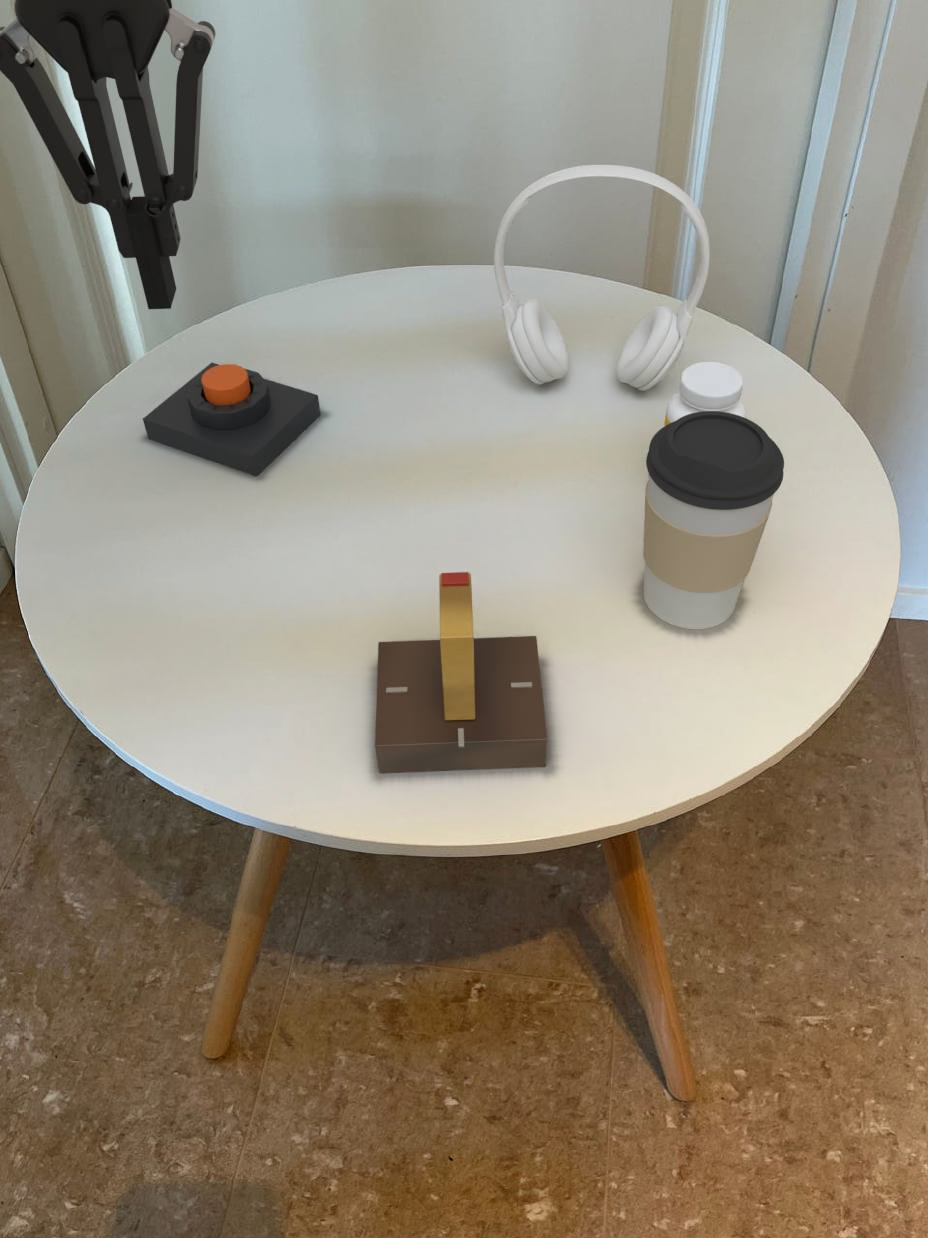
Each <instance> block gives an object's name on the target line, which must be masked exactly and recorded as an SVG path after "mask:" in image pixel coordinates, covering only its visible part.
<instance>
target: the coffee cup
mask: <svg viewBox="0 0 928 1238" xmlns="http://www.w3.org/2000/svg"><path fill="white" fill-rule="evenodd" d="M645 458H646V460H645V465H646V470H647V473H648V479H647V482H646V485H645V492H644V493H645V499H644V517H643V518H644V519H643V520H644V523H643V547H642V548H643V549H642V553H643V554H642V556H643V559H644V571H643V572H644V573H643V600H644V602H645V604H646V606H647V607H648V609H649V610H650V612H651V613H652V614H653V615H655V617H657V618H658V619H660V620H661V621H663V622H665V623H667V624H668V625H671V626H674V627H678V628H680V629H687V630H705V629H706V630H707V629H711V628H714V627H717V626H719V625H721V624H723V623H725V622H726V621H727V620H728V619H729V618H730V617H731V616H732V614H733V613H734V611H735V608H736V605H737V603H738V599H739V597H740V594H741V592H742V588H743V585H744V582H745V579H746V578H747V577H748V575H749V573H750V571H751V568H752V566H753V562H754V560H755V558H756V554H757V551H758V548H759V546H760V543H761V539H762V537H763V534H764V531H765V529H766V526H767V522H768V520H769V517H770V514H771V511H772V508H773V499H774V496H775V493H777V491H778V490H779V489H780V487H781V485H782V483H783V480H784V468H785V460H784V455H783V453H782V451H781V449H780V447H779V446H778V445H777V443H776V442H775V441H774V440H773V439H772V438H771V437H770V436H769V435H768V433H767V432H766V431H765V430H764V429H763V428H762V427H761V426H760V425H759V424H757V423H756V422H754V421H753V420H751V419H749V418H747V417H746V418H744V417H741V416H739V415H735V414H731V413H726V412H719V411H703V412H696V413H692V414H688V415H686V416H683V417H681V418H680V419H678V420H677V421H674V422H672V423H670V424H668V425H666V426H665V425H664V426H663V427H661V428H660V429H658V431H657V432H656V433H654V435H653V436H652V438H651V440H650V442H649V446H648V451H647V454H646V457H645Z"/></svg>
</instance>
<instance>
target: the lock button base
mask: <svg viewBox="0 0 928 1238" xmlns="http://www.w3.org/2000/svg"><path fill="white" fill-rule="evenodd" d="M218 365H220V364H219V363H216V362H210V363H209V364H208V365H207V366H205V367H204V368H203V369H202V370H200V371H199V372H198V373H197V374H196V375H194V376H193V377H192V378H191V379H189V380H188V381H187V382H186V383H184V384H183V385H182V386H180V388H178V389H177V390H175V392H174V393H172V394H171V395H170V396H169V397H167V398H166V399H165V400H164V401H162V402H161V403H160V404H158V406H157V407H155V408H154V409H153V410H152V411H150V412H149V413H148V414H147V415H145V416H144V417H143V418H142V422H143V426H144V428H145V429H144V430H145V432H146V436H147V439H148V440H151V441H154V442H156V443H159V444H162V445H165V446H168V447H171V448H173V449H176V450H179V451H182V452H185V453H188V454H191V455H194V456H197V457H199V458H202V459H204V460H209V461H212V462H213V463H214V462H215V463H217V464H219V465H222V466H226V467H229V468H230V469H234V470H237V471H240V472H243V473H245V474H248V475H252V476H254V477H258V476H259V475H260V474H261V473H262V472H263V471H264V470H265V469H266V468H267V467H268V466H270V465H271V463H272V462H274V461H275V460H276V459H277V458H278V457H279V456H280V455H281V454H282V453H283V452H284V451H285V450H286V449H287V448H288V447H289V446H290V445H292V443H293V442H295V441H296V439H297V438H299V436H301V435H302V433H304V432H305V431H306V430H307V429H308V428H309V427H310V426H311V425H313V424H314V422H315V421H316V420H317V419H318V418H319V417H320V416H321V415H322V413H321V407H320V400H319V395H318V394H317V393H313V392H310V391H306V390H303V389H299V388H296V387H293V386H290V385H286V384H284V383H280V382H277V381H273V380H270V379H268V378H264V377H263V376H262V374H261V373H259V372H258V371H255V370H251V369H248V368H244V367H243V368H244V369H245V370H246V371H247V374H248V379H249V384H250V389H251V392H250V395H249V396H248V397H247V398H246V399H245V400H243V401H241V402H238V403H235V404H232V405H215V404H212V403H209V402H208V401H207V399H206V397H205V394H204V389H203V385H202V376H203V374H204V373H205V372H206V371H207V370H209V369H210V368H212V367H215V366H218Z"/></svg>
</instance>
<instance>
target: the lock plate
mask: <svg viewBox="0 0 928 1238" xmlns="http://www.w3.org/2000/svg"><path fill="white" fill-rule="evenodd" d="M540 667H541V666H540V657H539V649H538V638H537V635H522V636H496V637H474V676H475V719H474V720H445V717H444V699H443V682H442V665H441V648H440V639H421V640H416V639H415V640H394V641H392V640H391V641H379V642H378V643H377V672H376V673H377V675H376V701H375V732H374V733H375V737H374V748H375V749H374V750H375V754H376V761H377V762H376V763H377V769H378V773H379V774H392V773H418V772H419V773H420V772H441V771H443V772H444V771H446V772H447V771H466V770H467V771H469V770H492V769H493V770H494V769H516V768H517V769H518V768H519V769H520V768H543V767H544V768H545V767H547V754H548V753H547V752H548V733H547V723H546V713H545V704H544V695H543V694H544V693H543V686H542V677H541V668H540Z"/></svg>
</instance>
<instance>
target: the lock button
mask: <svg viewBox="0 0 928 1238" xmlns="http://www.w3.org/2000/svg"><path fill="white" fill-rule="evenodd" d="M245 369H246V368H245ZM245 369H244V367H242V366H241V365H238V364H234V363H226V364H225V363H224V364H219V365H218V366H215V367H212V368H210V369H209V370H207V371H206V372H205V373H204V374H203V376H202V385H203V389H204V394H205V397H206V399H207V401H208V402H209V403H212V404H215V405H232V404H235V403H238V402H241V401H243V400H245V399H246V398H247V397H248V396H249V395H250V392H251V389H250V384H249V379H248V374H247V371H246V370H245Z"/></svg>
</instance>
